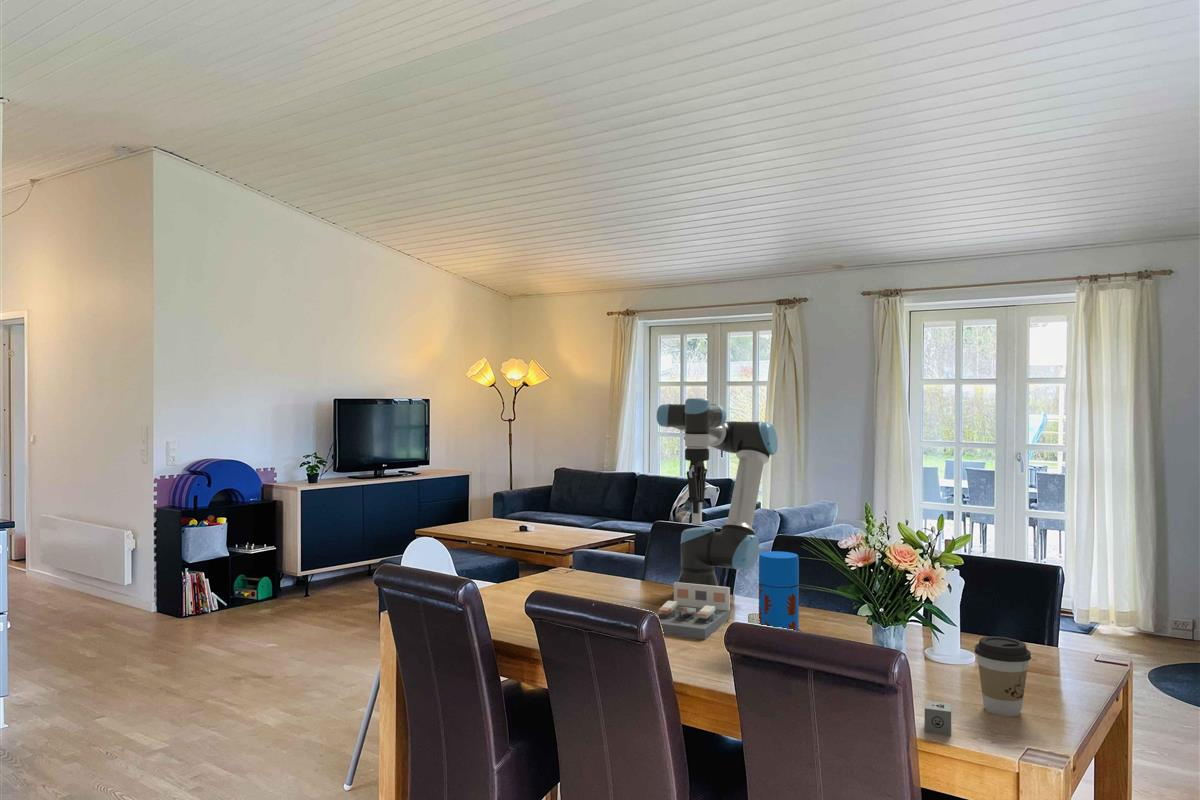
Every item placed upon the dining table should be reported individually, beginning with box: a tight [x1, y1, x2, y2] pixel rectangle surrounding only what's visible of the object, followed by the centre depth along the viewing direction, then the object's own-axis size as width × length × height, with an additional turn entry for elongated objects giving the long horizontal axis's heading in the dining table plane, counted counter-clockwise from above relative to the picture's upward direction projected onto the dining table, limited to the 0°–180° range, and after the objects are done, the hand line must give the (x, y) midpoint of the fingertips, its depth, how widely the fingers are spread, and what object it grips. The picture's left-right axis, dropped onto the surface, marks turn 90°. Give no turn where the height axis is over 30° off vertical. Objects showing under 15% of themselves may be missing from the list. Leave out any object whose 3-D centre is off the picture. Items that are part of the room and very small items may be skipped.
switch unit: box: [657, 581, 731, 641], centre depth 254 cm, size 24×18×10 cm
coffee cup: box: [973, 635, 1032, 718], centre depth 185 cm, size 11×11×15 cm
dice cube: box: [924, 699, 952, 737], centre depth 175 cm, size 5×5×5 cm
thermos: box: [758, 550, 800, 631], centre depth 234 cm, size 11×11×25 cm
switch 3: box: [697, 605, 715, 619], centre depth 250 cm, size 8×3×1 cm, turn 154°
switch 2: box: [678, 607, 696, 612], centre depth 252 cm, size 8×3×1 cm, turn 154°
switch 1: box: [658, 600, 677, 615], centre depth 255 cm, size 8×3×1 cm, turn 154°
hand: (696, 523), depth 264 cm, fingers closed
